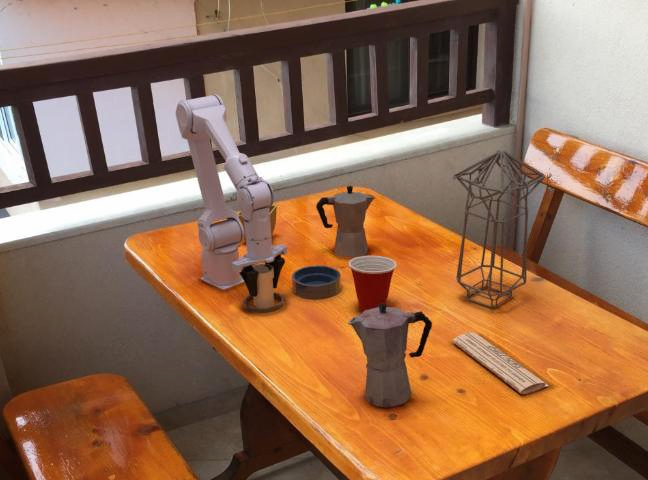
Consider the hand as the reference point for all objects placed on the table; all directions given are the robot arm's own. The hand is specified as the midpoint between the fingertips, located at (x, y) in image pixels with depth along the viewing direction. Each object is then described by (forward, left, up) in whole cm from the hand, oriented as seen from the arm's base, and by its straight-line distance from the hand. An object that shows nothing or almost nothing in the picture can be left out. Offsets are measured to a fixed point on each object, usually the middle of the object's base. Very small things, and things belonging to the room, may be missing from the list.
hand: (263, 291), depth 199 cm
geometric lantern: (+36, +39, -4) cm, 53 cm away
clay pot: (0, 0, -3) cm, 3 cm away
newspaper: (+56, +16, -4) cm, 58 cm away
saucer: (0, 0, -4) cm, 4 cm away
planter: (+3, +14, -4) cm, 15 cm away
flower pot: (-31, +24, -4) cm, 39 cm away
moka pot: (+48, -8, -4) cm, 49 cm away
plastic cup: (+20, +16, -4) cm, 26 cm away
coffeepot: (-8, +35, -4) cm, 36 cm away
